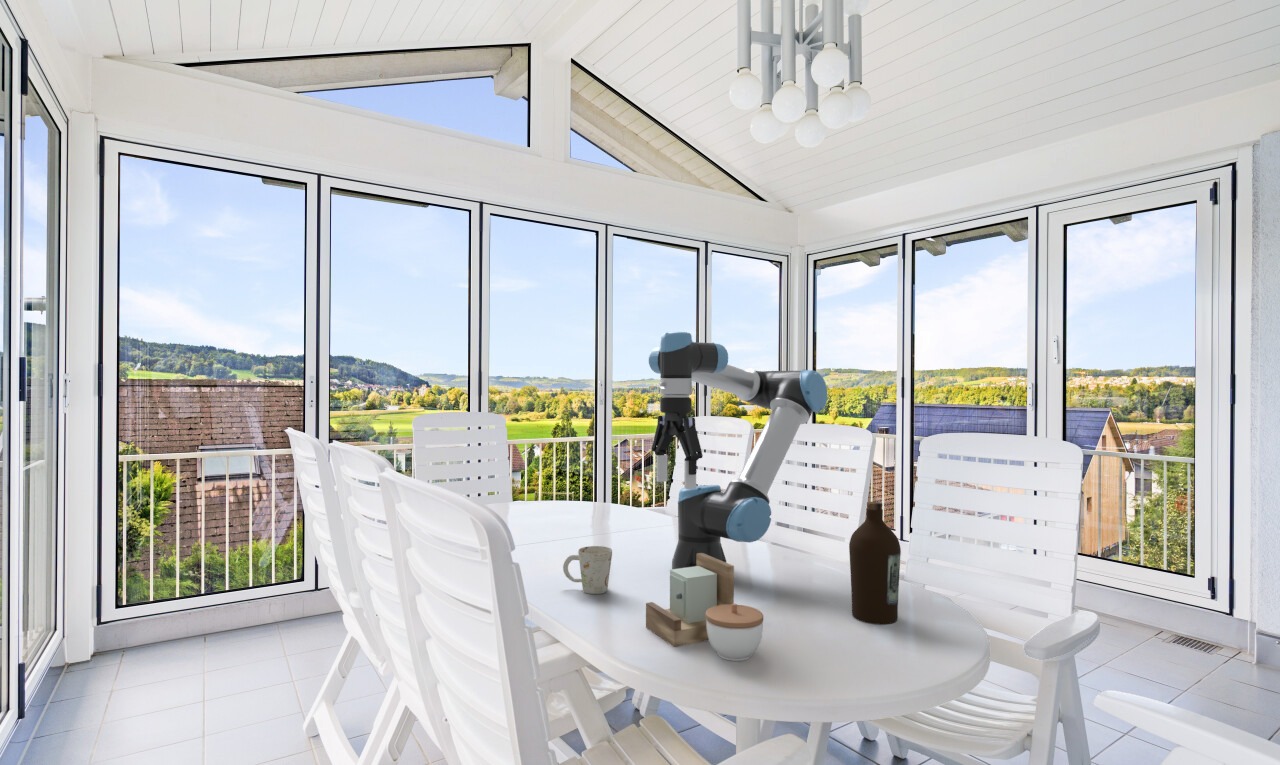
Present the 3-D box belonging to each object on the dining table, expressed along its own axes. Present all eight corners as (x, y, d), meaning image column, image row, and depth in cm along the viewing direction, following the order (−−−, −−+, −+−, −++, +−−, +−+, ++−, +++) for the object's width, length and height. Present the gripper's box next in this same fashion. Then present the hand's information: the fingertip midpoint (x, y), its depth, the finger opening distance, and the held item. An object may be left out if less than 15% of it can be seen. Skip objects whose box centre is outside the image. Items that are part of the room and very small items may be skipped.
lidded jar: (700, 644, 130) (701, 596, 130) (754, 643, 131) (755, 595, 131) (711, 667, 119) (711, 614, 119) (770, 665, 120) (770, 613, 120)
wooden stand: (702, 617, 145) (702, 552, 146) (733, 635, 135) (733, 565, 135) (645, 627, 139) (646, 559, 139) (674, 646, 128) (674, 573, 129)
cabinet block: (698, 608, 142) (698, 565, 142) (716, 618, 136) (716, 573, 136) (664, 613, 138) (664, 570, 139) (681, 624, 132) (682, 578, 132)
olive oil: (842, 619, 145) (842, 503, 145) (857, 606, 153) (857, 497, 154) (893, 629, 139) (893, 508, 139) (906, 615, 147) (906, 502, 148)
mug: (607, 596, 160) (607, 554, 160) (557, 593, 162) (557, 552, 162) (615, 586, 168) (615, 546, 168) (567, 583, 170) (567, 544, 170)
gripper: (638, 396, 170) (638, 479, 170) (689, 397, 148) (689, 493, 148) (664, 396, 173) (664, 477, 173) (717, 397, 151) (717, 490, 151)
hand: (675, 485), depth 160 cm, fingers open, 13 cm apart
